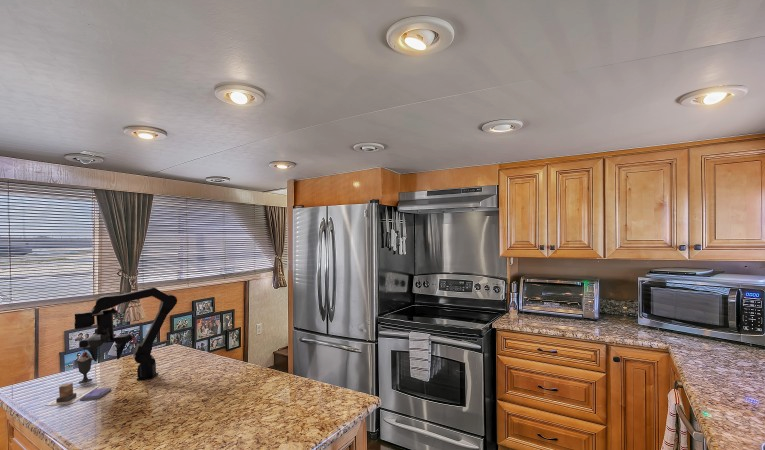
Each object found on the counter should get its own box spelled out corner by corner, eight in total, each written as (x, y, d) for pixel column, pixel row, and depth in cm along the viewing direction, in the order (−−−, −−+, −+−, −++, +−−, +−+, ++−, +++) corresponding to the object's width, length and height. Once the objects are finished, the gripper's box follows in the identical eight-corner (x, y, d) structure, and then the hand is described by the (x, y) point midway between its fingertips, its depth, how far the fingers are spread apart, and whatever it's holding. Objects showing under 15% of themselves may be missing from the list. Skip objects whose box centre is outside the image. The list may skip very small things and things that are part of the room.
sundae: (84, 384, 163) (82, 351, 163) (72, 384, 165) (70, 351, 165) (98, 378, 170) (97, 346, 170) (86, 378, 171) (85, 346, 171)
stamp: (76, 396, 150) (75, 382, 150) (68, 401, 146) (67, 386, 146) (64, 397, 150) (64, 383, 150) (56, 402, 145) (55, 387, 146)
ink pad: (111, 390, 155) (111, 387, 155) (98, 398, 147) (98, 395, 147) (93, 391, 155) (93, 389, 155) (80, 400, 147) (80, 397, 147)
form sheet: (99, 386, 160) (99, 385, 160) (72, 403, 144) (72, 402, 144) (75, 388, 159) (75, 387, 159) (45, 405, 143) (45, 405, 143)
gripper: (68, 331, 150) (70, 369, 150) (116, 327, 152) (118, 364, 152) (87, 324, 161) (89, 359, 161) (131, 321, 163) (133, 355, 163)
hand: (107, 360), depth 159 cm, fingers open, 9 cm apart
